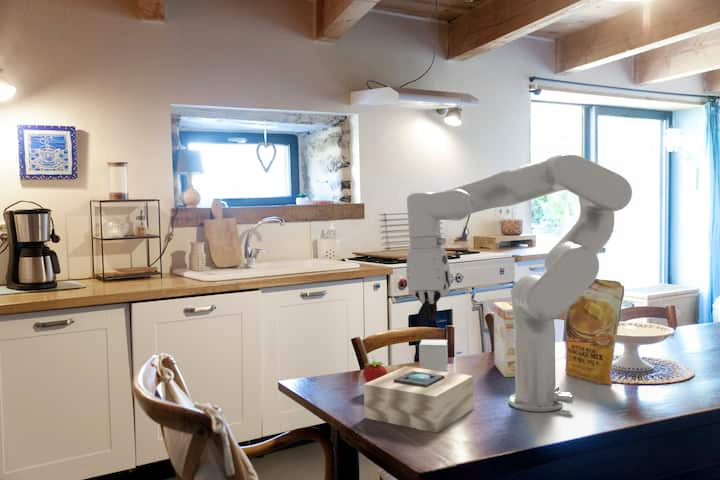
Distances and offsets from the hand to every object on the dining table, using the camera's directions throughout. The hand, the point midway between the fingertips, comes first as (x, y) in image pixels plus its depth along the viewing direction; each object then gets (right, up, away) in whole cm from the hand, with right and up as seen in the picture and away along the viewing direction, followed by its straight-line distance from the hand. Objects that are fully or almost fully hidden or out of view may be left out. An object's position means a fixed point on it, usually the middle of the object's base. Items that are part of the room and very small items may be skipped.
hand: (430, 319), depth 150 cm
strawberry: (-13, -22, +14) cm, 29 cm away
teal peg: (-3, -20, -3) cm, 21 cm away
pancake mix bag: (+47, -20, +23) cm, 56 cm away
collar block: (-3, -22, -2) cm, 22 cm away
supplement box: (+3, -21, +18) cm, 28 cm away
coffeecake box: (+28, -20, +34) cm, 48 cm away
